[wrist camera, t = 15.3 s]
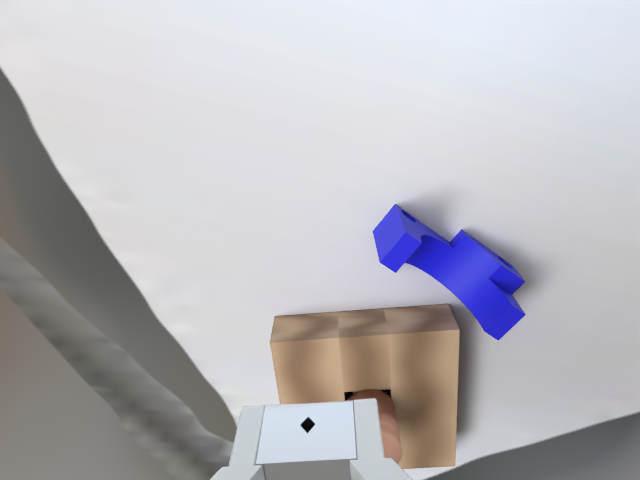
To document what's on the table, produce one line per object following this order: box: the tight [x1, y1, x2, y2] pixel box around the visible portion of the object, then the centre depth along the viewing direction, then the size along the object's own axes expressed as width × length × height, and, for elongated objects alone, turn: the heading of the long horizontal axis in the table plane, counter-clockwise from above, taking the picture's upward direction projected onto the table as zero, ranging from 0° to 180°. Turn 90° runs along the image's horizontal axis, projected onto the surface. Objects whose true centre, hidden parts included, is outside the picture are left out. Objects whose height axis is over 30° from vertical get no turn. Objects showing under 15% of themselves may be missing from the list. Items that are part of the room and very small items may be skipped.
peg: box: [347, 389, 402, 464], centre depth 43 cm, size 5×5×8 cm
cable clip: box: [373, 204, 526, 340], centre depth 38 cm, size 12×4×6 cm, turn 55°
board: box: [270, 304, 460, 469], centre depth 45 cm, size 16×16×4 cm
